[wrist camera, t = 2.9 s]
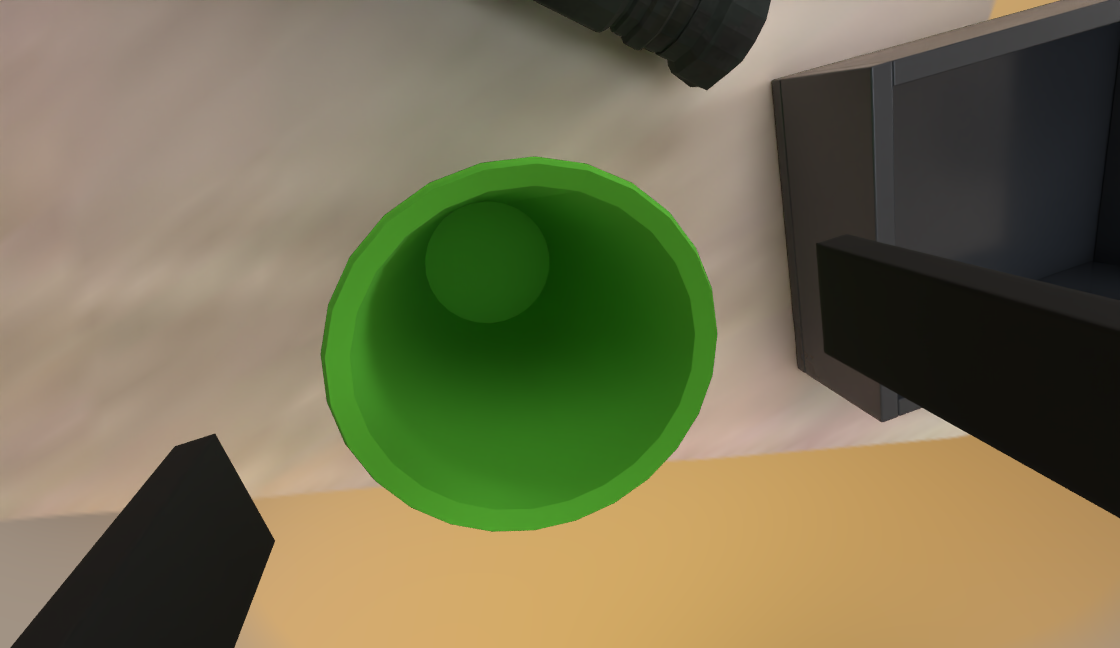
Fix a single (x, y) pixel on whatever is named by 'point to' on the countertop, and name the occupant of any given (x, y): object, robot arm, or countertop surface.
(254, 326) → the countertop surface
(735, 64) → the flashlight
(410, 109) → the countertop surface
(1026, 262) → the dark grey open box
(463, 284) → the cup
